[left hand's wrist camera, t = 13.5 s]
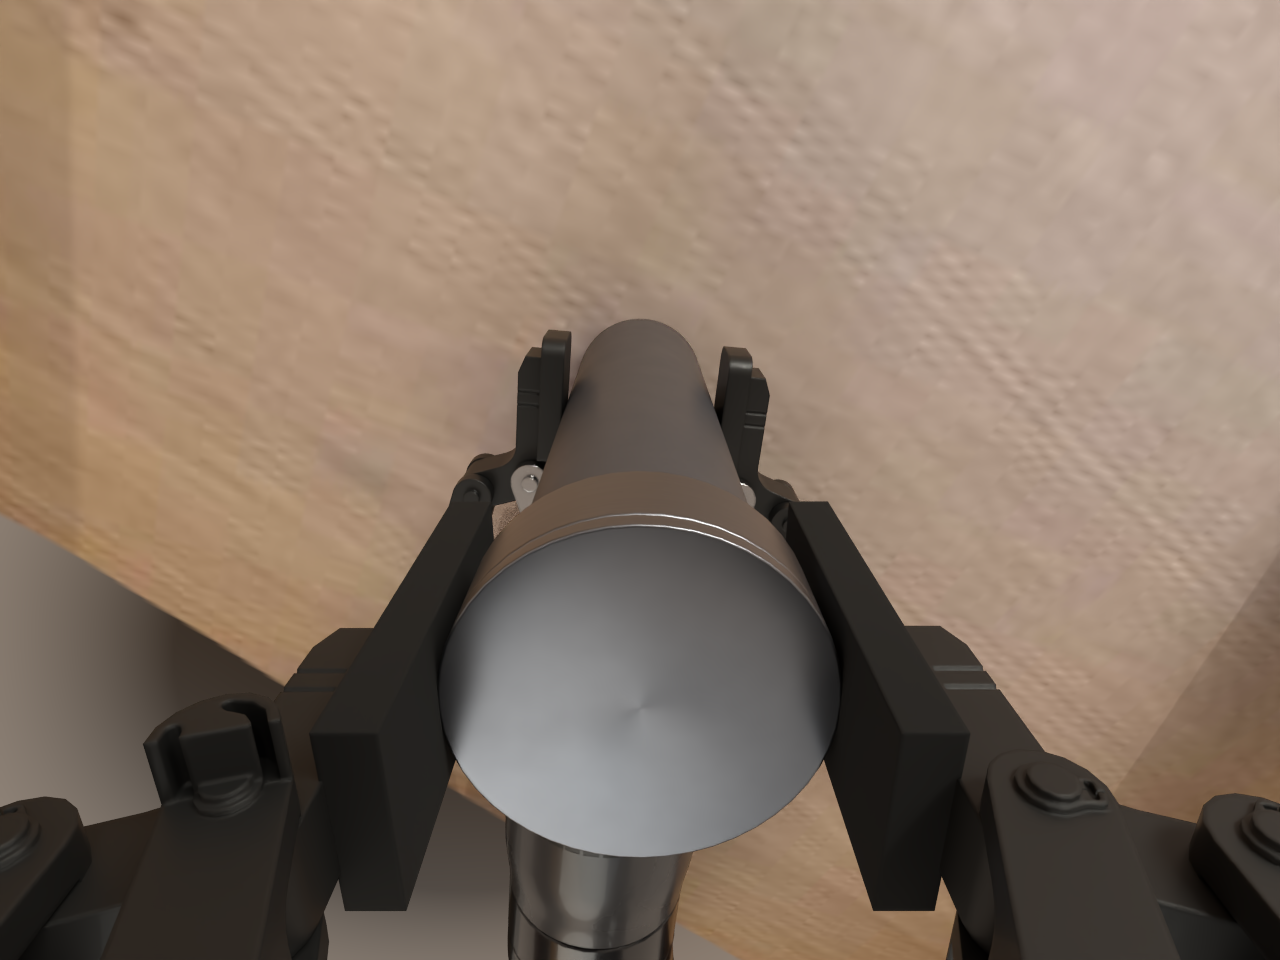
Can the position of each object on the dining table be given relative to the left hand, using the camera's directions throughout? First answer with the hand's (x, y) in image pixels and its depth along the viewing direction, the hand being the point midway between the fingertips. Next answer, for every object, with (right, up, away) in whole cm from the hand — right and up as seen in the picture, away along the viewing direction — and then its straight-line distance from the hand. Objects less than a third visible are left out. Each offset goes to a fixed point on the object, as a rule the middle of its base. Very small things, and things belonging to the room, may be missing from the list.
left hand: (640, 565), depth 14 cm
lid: (0, -1, -4) cm, 4 cm away
